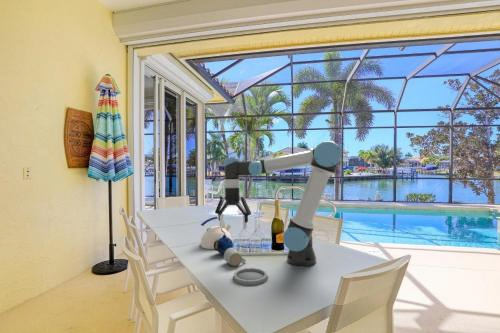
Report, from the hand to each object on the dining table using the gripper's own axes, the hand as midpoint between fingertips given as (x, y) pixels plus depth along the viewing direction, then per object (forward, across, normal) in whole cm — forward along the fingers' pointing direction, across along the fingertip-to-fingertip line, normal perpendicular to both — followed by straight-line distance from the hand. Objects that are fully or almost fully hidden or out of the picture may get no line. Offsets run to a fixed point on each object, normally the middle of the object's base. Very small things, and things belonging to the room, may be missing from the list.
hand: (233, 227), depth 145 cm
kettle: (+19, +26, -26) cm, 41 cm away
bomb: (+19, +12, -11) cm, 25 cm away
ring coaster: (+19, -15, +14) cm, 28 cm away
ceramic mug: (+19, -1, 0) cm, 19 cm away
